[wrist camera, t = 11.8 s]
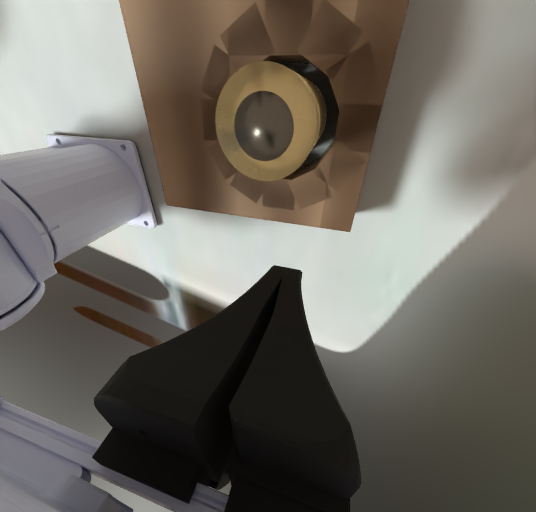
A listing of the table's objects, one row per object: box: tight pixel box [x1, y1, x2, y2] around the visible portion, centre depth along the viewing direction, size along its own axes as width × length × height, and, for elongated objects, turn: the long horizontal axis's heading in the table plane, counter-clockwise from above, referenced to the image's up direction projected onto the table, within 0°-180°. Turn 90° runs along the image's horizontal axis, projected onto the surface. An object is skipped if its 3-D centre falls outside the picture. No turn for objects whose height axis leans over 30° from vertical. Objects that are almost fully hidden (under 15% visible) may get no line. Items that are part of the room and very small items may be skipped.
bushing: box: [215, 61, 327, 181], centre depth 13 cm, size 4×4×7 cm
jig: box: [119, 0, 409, 232], centre depth 15 cm, size 14×12×3 cm
